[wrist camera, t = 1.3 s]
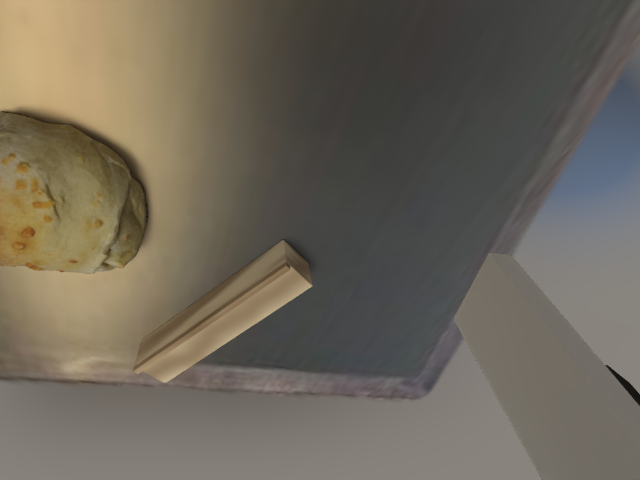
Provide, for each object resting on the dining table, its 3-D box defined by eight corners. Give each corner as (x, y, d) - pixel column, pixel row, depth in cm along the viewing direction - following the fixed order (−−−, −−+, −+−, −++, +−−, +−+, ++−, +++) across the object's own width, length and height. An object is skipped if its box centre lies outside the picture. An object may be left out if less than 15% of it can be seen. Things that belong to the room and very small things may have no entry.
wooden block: (141, 340, 44) (132, 371, 41) (283, 239, 39) (286, 265, 36) (170, 356, 46) (164, 387, 43) (308, 263, 41) (313, 290, 38)
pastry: (-69, 122, 29) (-161, 170, 23) (102, 89, 29) (61, 127, 23) (39, 269, 37) (-5, 335, 31) (172, 242, 38) (156, 302, 31)
